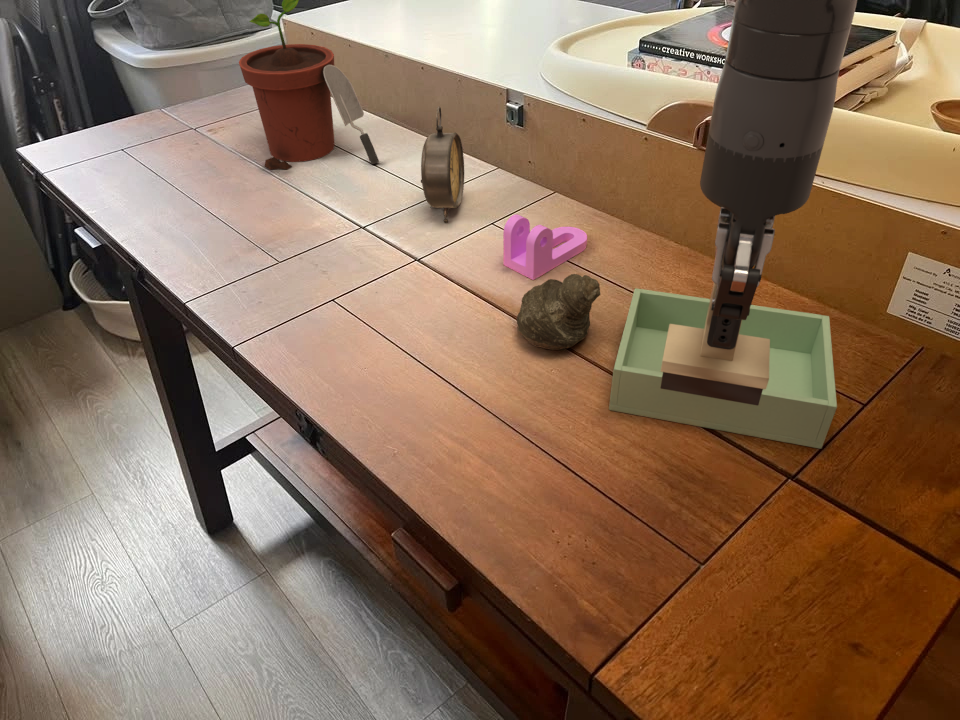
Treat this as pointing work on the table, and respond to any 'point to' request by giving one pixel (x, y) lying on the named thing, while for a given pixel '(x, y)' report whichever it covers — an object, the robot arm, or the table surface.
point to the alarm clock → (442, 169)
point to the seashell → (558, 311)
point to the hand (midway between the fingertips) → (721, 333)
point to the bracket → (539, 246)
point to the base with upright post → (715, 364)
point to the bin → (779, 416)
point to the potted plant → (299, 98)
